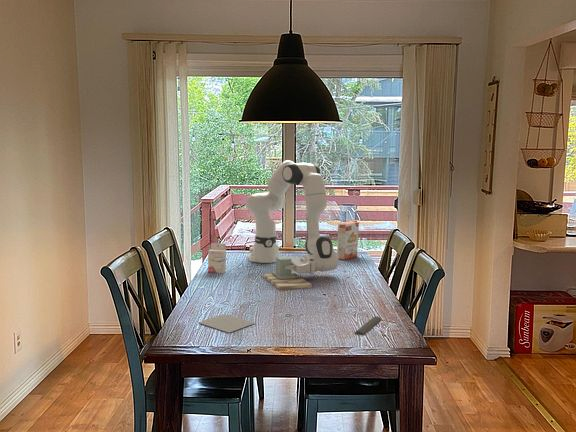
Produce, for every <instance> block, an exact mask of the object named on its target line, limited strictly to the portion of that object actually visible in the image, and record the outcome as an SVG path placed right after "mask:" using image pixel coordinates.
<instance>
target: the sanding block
mask: <svg viewBox="0 0 576 432" xmlns="http://www.w3.org/2000/svg"><path fill="white" fill-rule="evenodd" d="M289 257H290V256H287V255H286V256H279V257H276V262H275V270H274V271H272V272H271V273H272V274H273V275H274V276H275V277H277V278H278V279H279V280H286V279H295V276H294V275H293V274H291V272H292V270H289V269H284V265H291V260H292V259H291V258H289Z"/></svg>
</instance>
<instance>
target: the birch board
mask: <svg viewBox="0 0 576 432" xmlns="http://www.w3.org/2000/svg"><path fill="white" fill-rule="evenodd" d="M291 274H293V275H294V276H295V279H286V280H279V279H278V278H277V277H275V276H274V275H273V274H272V272H268V273H262V277H263V278H264V279H265V280H267V281H268V282H269V283H270V284H271V285H273V286H274V287H275V288H277V290H279V291H285V290H296V289H308V288H309V289H310V288H312V287H313V285H312V283H310V282H309V281H307V280H306V279H304V278H303V277H301V276H300V275H299V274H297V272H295V271H294V270H291Z"/></svg>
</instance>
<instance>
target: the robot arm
mask: <svg viewBox="0 0 576 432" xmlns="http://www.w3.org/2000/svg"><path fill="white" fill-rule="evenodd" d="M291 185H296V186H299V185H301V186H302V187H303V190H304V201H305V209H306V214H305V215H306V216H305V217H306V240H305V244H304V247H305V251H306V253H307V254H306V255H303V256H302V257H301V258H300V257H296V256H293V257H292V256H288V257H289V258H291V259H292V260H291V265H284V269H289V270H291V271H293V272H295V273H296V274H297V273H298V274H310V275H314V274H315V273H317V272H322V273H324V272H331V271H334V270H336V269H337V268H338V266H339V263H340V259H339V257H338V255H337V252H336V251H335V249H334V247H333V246H334V245H333V242H332V239H331V238H330V237H329V236H327V235H320V223H319V221H320V216H321V215H322V213H323V212H324V211H325V210H326V209H327V205H328V196H327V195H328V194H327V188H326V184H325V181H324V178H323V176H322V175H321V169H320V167H319V165H317V164H315V163H314V162H313V163H312V162H309V163H308V162H296V163H295V162H294V161H292V160H288V159H287V160H284V161H283V162H282V163H281V164H279V166H278V167H277V168H276V169H275V171H274V172H273V174H272V175H271V177H270V178H269V179H268V181H267V188H268V190H267V191H265V192H257V193H256V192H255V193H253V194H252V193H251V194H250V195H248V196H247V197H246V200H245V206H246V209H247V210H248V211H249V212H250V213H251V214H252V216H253V219H254V222H255V236H254V243H253V244H252V246H251V248H249V250H248V253H250V254H247V258H248V261H249V262H252V263H253V262H254V263H260V264H269V263H271V264H272V263H276V257H280V251H279V250H280V249H279V245H278V244H277V236H276V226H277V225H276V222H275V220H274V219H272V218H271V216H270V212H276V211H279V210H281V209H283V208H284V207H285V205H286V197H285V194H286V192H287V190H288V189H289V188H290V186H291Z"/></svg>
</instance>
